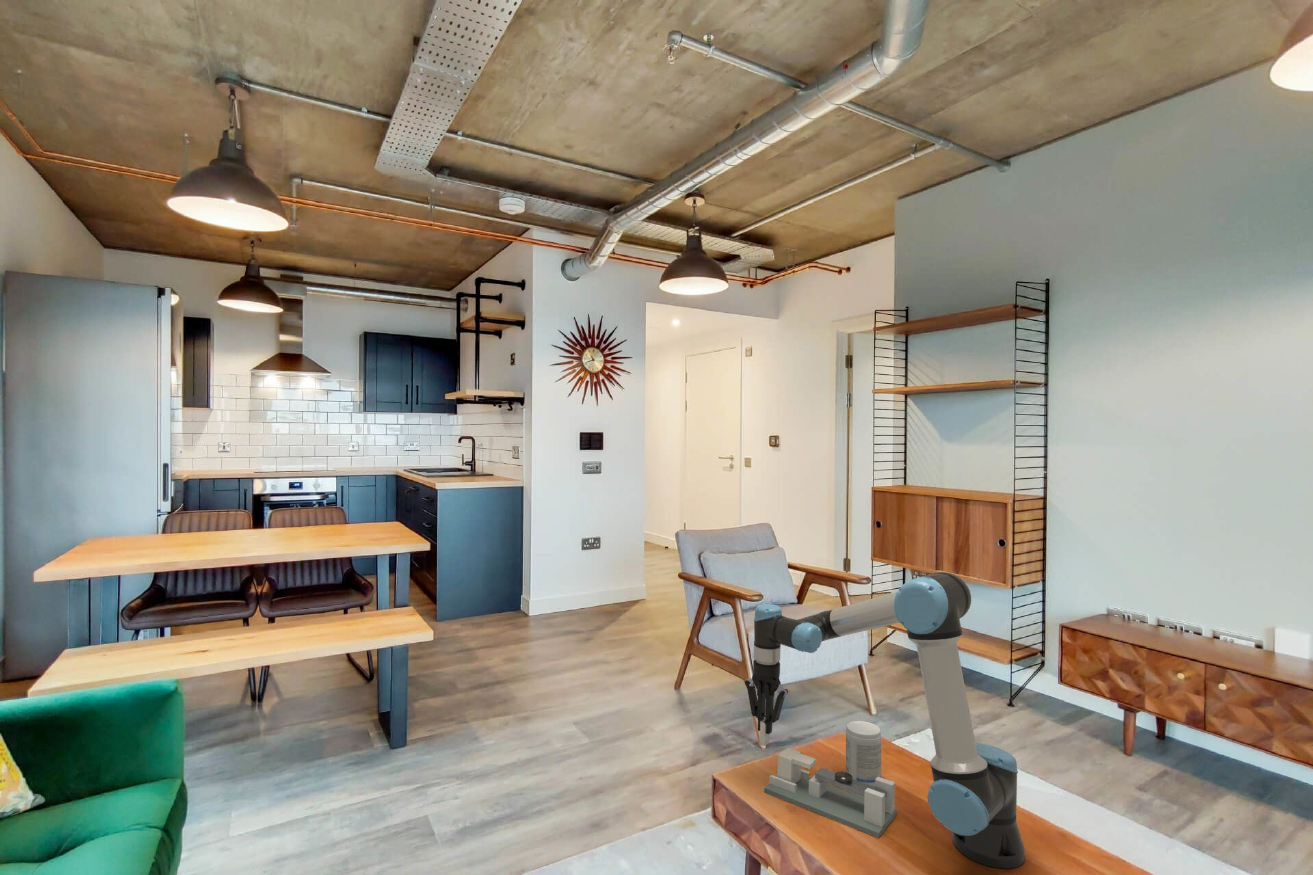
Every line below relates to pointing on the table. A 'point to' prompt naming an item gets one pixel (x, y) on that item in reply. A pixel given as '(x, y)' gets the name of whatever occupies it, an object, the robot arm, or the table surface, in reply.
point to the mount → (840, 801)
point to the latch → (793, 764)
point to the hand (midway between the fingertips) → (764, 743)
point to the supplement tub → (863, 751)
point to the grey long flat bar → (844, 781)
